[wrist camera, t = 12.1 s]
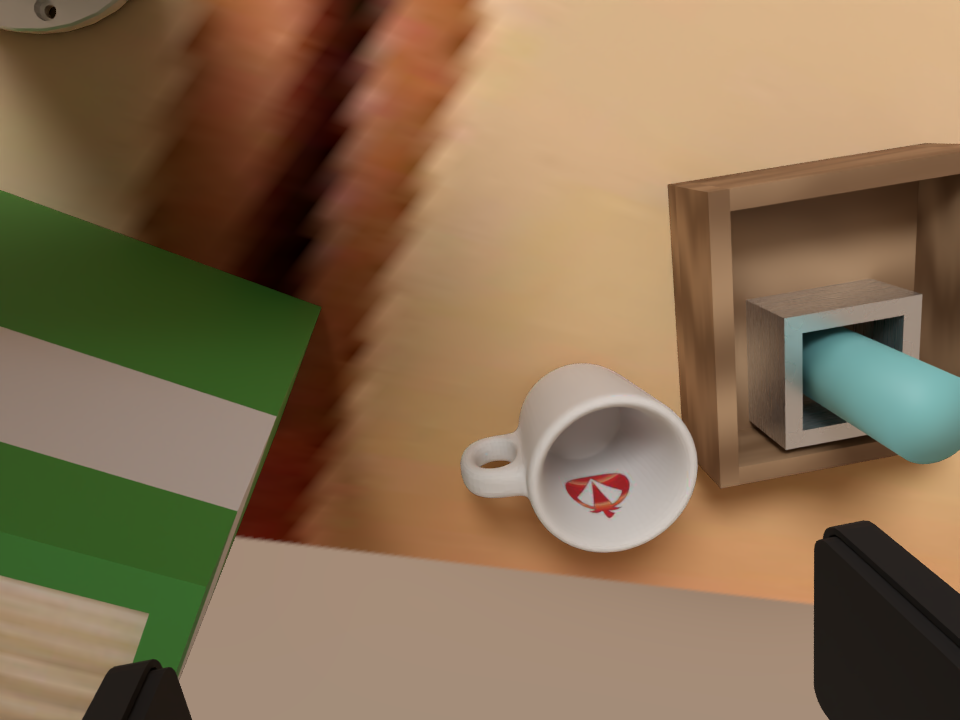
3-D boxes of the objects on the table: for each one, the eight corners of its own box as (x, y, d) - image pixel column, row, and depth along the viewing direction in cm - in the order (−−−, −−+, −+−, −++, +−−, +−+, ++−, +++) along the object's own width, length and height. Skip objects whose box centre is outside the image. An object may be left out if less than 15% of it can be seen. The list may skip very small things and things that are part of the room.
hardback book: (-82, 318, 35) (-968, 666, 12) (-50, 172, 33) (-1013, 259, 10) (275, 433, 39) (108, 861, 16) (321, 307, 37) (206, 586, 14)
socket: (745, 299, 38) (784, 318, 35) (870, 278, 39) (922, 294, 35) (749, 420, 41) (785, 449, 37) (867, 398, 41) (915, 425, 37)
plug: (770, 322, 39) (891, 384, 29) (841, 310, 39) (983, 367, 30) (771, 391, 40) (888, 471, 31) (840, 378, 40) (976, 454, 31)
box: (667, 184, 37) (707, 192, 32) (925, 143, 38) (1001, 144, 33) (683, 448, 42) (720, 488, 37) (912, 405, 43) (977, 440, 38)
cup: (464, 498, 41) (480, 581, 34) (442, 367, 39) (454, 424, 31) (647, 464, 42) (703, 538, 34) (637, 333, 39) (696, 382, 32)
